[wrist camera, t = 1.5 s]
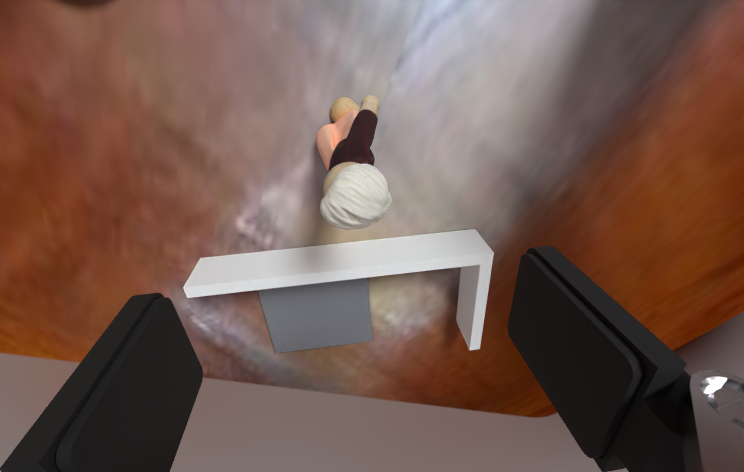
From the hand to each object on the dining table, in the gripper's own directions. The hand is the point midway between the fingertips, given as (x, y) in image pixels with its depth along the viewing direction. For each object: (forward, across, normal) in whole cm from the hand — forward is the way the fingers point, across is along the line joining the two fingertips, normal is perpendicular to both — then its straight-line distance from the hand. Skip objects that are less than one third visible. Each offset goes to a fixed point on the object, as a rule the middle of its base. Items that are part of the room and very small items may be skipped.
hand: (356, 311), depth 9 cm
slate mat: (+19, +3, +16) cm, 25 cm away
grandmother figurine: (+19, -1, 0) cm, 19 cm away
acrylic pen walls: (+19, 0, +14) cm, 23 cm away
